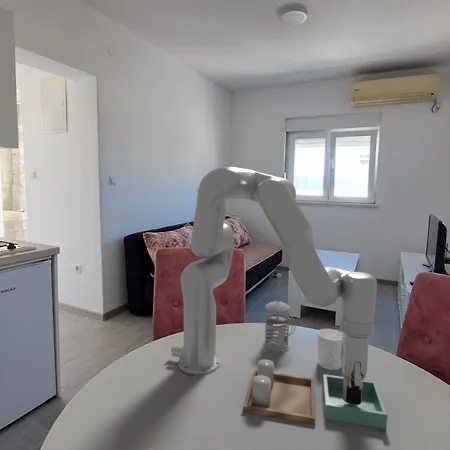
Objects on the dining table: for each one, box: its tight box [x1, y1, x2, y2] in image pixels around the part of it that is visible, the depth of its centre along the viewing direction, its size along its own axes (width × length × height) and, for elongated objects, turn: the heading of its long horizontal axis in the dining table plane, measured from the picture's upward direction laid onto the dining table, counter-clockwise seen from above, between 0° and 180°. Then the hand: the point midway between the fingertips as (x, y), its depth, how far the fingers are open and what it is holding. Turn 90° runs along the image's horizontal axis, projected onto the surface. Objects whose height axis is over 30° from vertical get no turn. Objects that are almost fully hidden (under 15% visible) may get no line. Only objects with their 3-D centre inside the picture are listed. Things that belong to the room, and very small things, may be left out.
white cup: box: [317, 328, 343, 371], centre depth 101 cm, size 8×8×10 cm
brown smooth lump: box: [342, 372, 364, 405], centre depth 81 cm, size 4×4×6 cm
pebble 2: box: [252, 375, 271, 408], centre depth 82 cm, size 4×4×6 cm
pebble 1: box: [256, 358, 275, 388], centre depth 89 cm, size 4×4×6 cm
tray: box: [242, 369, 316, 426], centre depth 85 cm, size 16×16×2 cm
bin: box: [322, 373, 388, 432], centre depth 82 cm, size 13×13×4 cm
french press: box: [261, 273, 296, 353], centre depth 111 cm, size 10×12×25 cm
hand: (351, 396), depth 82 cm, fingers closed on brown smooth lump, 4 cm apart
